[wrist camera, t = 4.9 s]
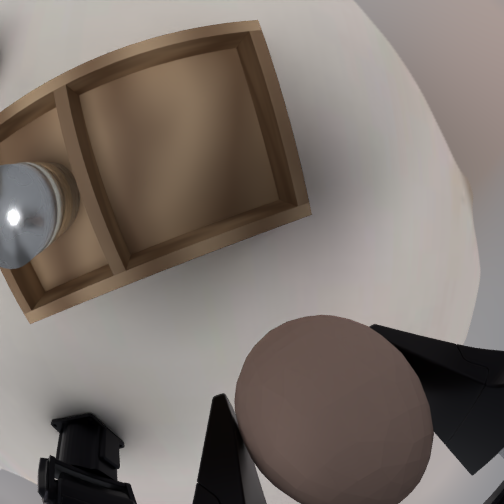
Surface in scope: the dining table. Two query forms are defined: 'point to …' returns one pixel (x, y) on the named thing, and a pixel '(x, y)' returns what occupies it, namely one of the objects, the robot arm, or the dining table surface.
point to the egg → (334, 413)
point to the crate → (156, 160)
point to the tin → (34, 209)
